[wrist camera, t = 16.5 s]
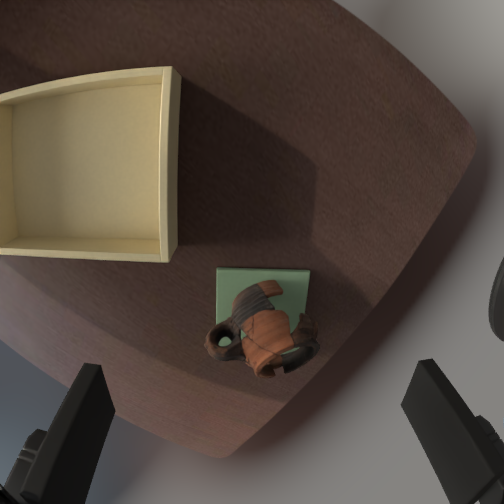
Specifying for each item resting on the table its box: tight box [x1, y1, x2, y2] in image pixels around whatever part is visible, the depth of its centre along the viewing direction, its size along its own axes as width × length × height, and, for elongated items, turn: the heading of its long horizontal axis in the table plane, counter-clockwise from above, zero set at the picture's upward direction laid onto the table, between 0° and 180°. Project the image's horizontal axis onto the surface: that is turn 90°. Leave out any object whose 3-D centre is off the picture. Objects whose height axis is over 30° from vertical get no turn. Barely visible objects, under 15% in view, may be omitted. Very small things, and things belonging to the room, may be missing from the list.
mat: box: [216, 267, 310, 360], centre depth 37 cm, size 10×12×1 cm
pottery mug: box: [204, 280, 320, 378], centre depth 34 cm, size 12×10×8 cm
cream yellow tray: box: [0, 66, 182, 262], centre depth 28 cm, size 22×18×5 cm
